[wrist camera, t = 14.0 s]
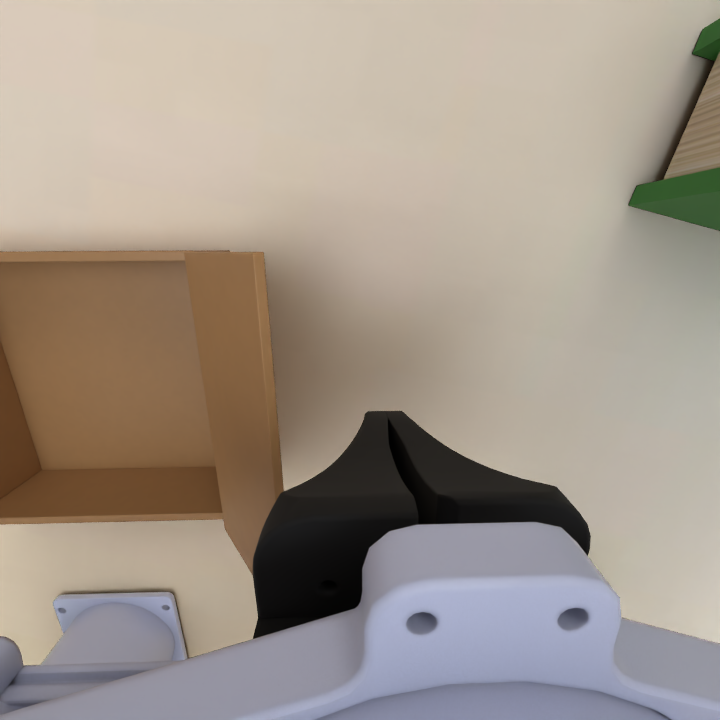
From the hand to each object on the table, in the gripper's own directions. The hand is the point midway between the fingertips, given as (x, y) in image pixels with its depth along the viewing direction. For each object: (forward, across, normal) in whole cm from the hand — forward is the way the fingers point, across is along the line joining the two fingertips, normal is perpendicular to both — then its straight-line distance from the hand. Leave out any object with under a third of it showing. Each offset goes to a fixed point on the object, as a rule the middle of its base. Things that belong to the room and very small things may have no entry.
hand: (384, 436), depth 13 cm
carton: (+8, +14, 0) cm, 16 cm away
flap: (0, +5, 0) cm, 5 cm away
